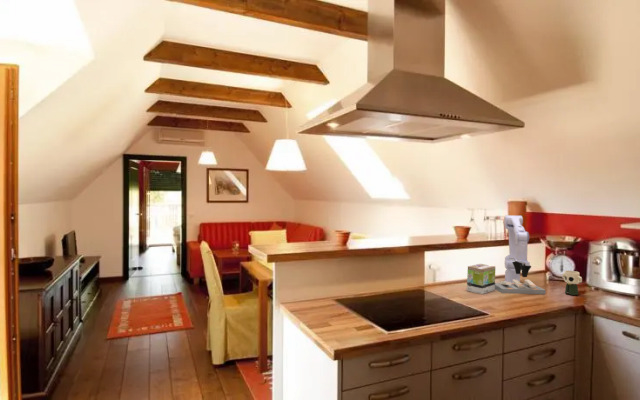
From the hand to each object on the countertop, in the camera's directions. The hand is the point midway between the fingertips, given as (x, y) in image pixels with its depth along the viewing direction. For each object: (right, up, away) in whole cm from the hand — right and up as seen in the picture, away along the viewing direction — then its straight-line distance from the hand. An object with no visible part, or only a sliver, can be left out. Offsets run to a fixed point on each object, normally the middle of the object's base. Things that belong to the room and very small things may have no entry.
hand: (521, 275), depth 208 cm
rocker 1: (-8, -6, +3) cm, 10 cm away
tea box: (-23, -10, +2) cm, 25 cm away
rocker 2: (-1, -6, +2) cm, 6 cm away
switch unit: (-1, -9, +2) cm, 10 cm away
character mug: (+26, -10, -6) cm, 28 cm away
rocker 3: (+6, -6, +2) cm, 9 cm away
